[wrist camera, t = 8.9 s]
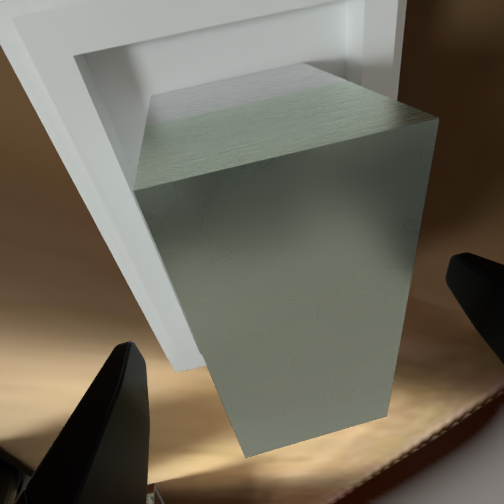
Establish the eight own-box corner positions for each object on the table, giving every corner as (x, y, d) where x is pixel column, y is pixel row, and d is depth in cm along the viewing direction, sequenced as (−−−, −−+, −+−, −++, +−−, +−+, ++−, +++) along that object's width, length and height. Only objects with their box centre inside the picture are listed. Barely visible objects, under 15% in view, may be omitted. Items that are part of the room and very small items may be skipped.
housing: (302, 62, 11) (439, 118, 5) (315, 283, 17) (386, 416, 11) (151, 95, 11) (133, 190, 5) (219, 308, 17) (245, 457, 11)
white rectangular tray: (360, 294, 21) (386, 332, 19) (174, 344, 20) (175, 391, 18) (381, -117, 10) (451, -157, 8) (-15, -42, 10) (-81, -60, 7)
